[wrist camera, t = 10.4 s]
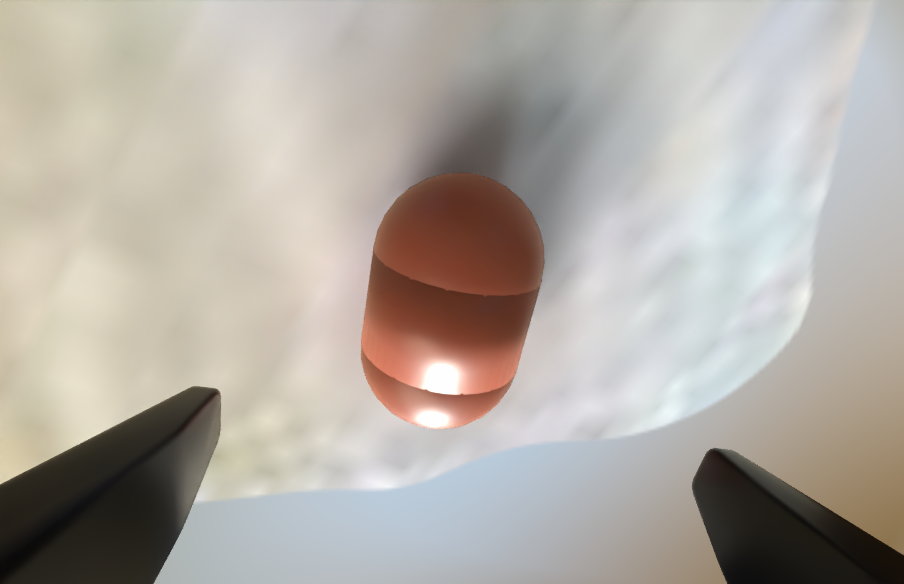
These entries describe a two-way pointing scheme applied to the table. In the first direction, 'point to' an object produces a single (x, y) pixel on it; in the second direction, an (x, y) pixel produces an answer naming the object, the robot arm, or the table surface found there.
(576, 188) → the table surface
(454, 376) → the potato
